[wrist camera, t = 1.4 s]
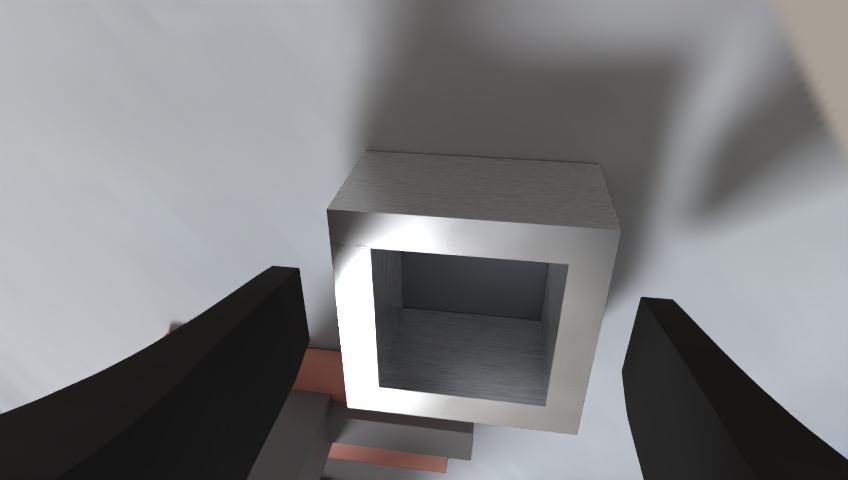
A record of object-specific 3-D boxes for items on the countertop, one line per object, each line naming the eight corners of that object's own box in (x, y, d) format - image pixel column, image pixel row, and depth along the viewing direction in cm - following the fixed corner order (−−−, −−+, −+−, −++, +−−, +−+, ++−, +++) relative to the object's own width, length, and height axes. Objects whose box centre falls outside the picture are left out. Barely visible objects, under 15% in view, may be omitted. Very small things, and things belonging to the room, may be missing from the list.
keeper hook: (477, 366, 16) (463, 519, 12) (471, 463, 18) (457, 618, 14) (167, 333, 17) (58, 460, 13) (197, 427, 19) (113, 560, 15)
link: (599, 164, 12) (621, 229, 9) (567, 346, 15) (577, 434, 12) (364, 150, 13) (326, 208, 10) (375, 327, 16) (347, 407, 13)
